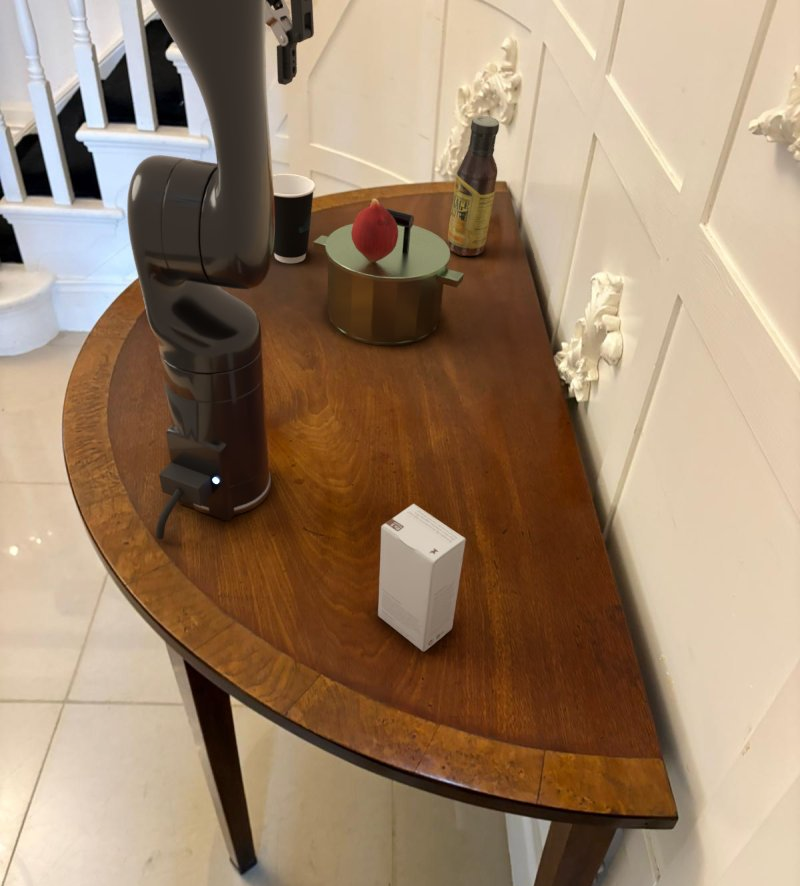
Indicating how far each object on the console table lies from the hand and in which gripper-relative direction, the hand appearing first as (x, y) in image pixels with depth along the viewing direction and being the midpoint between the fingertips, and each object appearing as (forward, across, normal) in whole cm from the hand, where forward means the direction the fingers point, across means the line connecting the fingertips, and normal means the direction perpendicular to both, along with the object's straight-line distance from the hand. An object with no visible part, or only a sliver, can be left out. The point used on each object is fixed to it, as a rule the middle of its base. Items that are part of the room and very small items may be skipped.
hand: (251, 75), depth 87 cm
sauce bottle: (+30, +17, +35) cm, 49 cm away
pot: (+30, +14, +9) cm, 34 cm away
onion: (+20, +14, +4) cm, 25 cm away
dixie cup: (+30, -6, +18) cm, 36 cm away
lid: (+21, +14, +9) cm, 26 cm away
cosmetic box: (+30, +39, -40) cm, 64 cm away
